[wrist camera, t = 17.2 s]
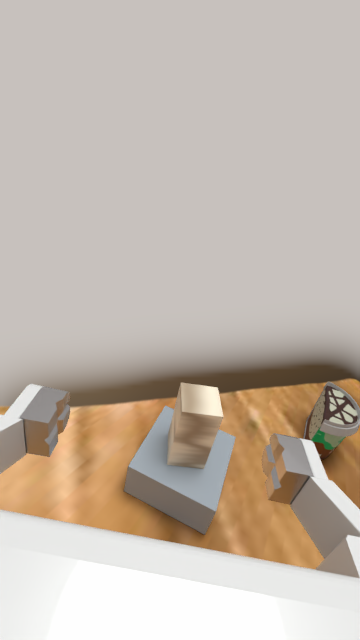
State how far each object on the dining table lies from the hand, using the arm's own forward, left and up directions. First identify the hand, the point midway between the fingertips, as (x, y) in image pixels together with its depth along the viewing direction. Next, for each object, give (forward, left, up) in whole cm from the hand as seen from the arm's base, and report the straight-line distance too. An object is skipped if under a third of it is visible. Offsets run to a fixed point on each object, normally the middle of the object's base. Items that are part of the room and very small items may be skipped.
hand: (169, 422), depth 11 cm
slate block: (-5, -19, -32) cm, 38 cm away
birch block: (-5, -19, -26) cm, 33 cm away
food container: (-31, -30, -32) cm, 54 cm away
